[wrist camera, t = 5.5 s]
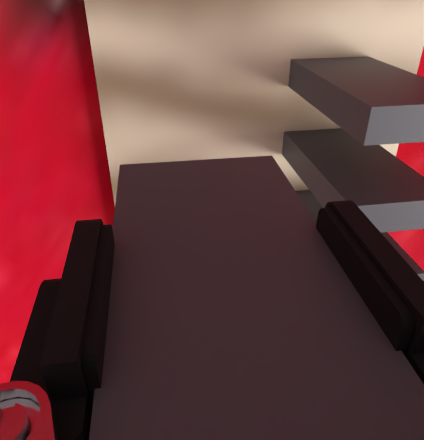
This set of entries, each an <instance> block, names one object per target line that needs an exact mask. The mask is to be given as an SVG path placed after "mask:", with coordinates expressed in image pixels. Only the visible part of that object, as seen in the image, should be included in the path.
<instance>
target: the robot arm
mask: <svg viewBox="0 0 424 440" xmlns="http://www.w3.org/2000/svg"><path fill="white" fill-rule="evenodd" d="M316 229H317V230H318V232H319V233H320V235H321V236H322V238H323V240H324V241H325V243H326V244H327V246H328V247H329V249H330V250H331V252H332V253H333V255H334V257H335V258H336V260H337V261H338V263H339V264H340V266H341V267H342V269H343V270H344V272H345V273H346V275H347V277H348V278H349V280H350V281H351V283H352V284H353V286H354V287H355V289H356V290H357V292H358V294H359V295H360V297H361V298H362V300H363V301H364V303H365V304H366V306H367V307H368V309H369V311H370V312H371V314H372V315H373V317H374V318H375V320H376V321H377V323H378V324H379V326H380V327H381V329H382V331H383V332H384V334H385V335H386V337H387V338H388V340H389V341H390V343H391V344H392V346H393V348H394V349H395V351H402V352H403V354H404V355H405V357H406V358H407V360H408V361H409V363H410V364H411V366H412V367H413V369H414V370H415V372H416V373H417V375H418V376H419V378H420V379H421V381H422V382H423V384H424V281H423V280H422V279H421V278H420V277H419V276H418V274H417V273H416V272H415V271H414V270H413V269H412V268H411V267H410V265H409V264H408V263H407V262H406V261H405V260H404V259H403V257H402V256H401V255H400V254H399V253H398V252H397V251H396V249H395V248H394V247H393V246H392V245H391V244H390V243H389V241H388V240H387V239H386V238H385V237H384V236H383V235H382V234H381V232H380V231H379V230H378V229H377V228H376V227H375V226H374V224H373V223H372V222H371V221H370V220H369V219H368V218H367V216H366V215H365V214H364V213H363V212H362V211H361V210H360V208H359V207H358V206H357V205H356V204H355V203H354V202H353V201H352V200H345V201H332V202H328V203H327V204H326V205H325V208H321V209H320V210H319V212H318V217H317V223H316ZM114 248H115V242H114V236H113V230H112V226H111V224H110V225H103V222H102V220H101V219H95V220H82V221H76V224H75V227H74V231H73V235H72V239H71V243H70V247H69V251H68V255H67V259H66V262H65V266H64V270H63V274H62V278H61V279H51V280H44V281H43V282H42V283H41V285H40V288H39V291H38V294H37V297H36V300H35V303H34V307H33V310H32V313H31V316H30V319H29V322H28V326H27V329H26V332H25V335H24V338H23V341H22V345H21V348H20V351H19V354H18V357H17V360H16V364H15V367H14V370H13V373H12V376H11V379H10V382H7V383H2V384H0V440H89V435H90V426H91V417H92V408H93V399H94V390H95V389H98V388H101V384H102V373H103V363H104V352H105V342H106V332H107V321H108V311H109V300H110V290H111V280H112V269H113V259H114Z"/></svg>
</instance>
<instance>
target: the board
mask: <svg viewBox="0 0 424 440" xmlns="http://www.w3.org/2000/svg"><path fill="white" fill-rule="evenodd" d="M84 3H85V10H86V17H87V23H88V30H89V37H90V43H91V50H92V57H93V63H94V70H95V77H96V83H97V90H98V97H99V103H100V110H101V117H102V124H103V130H104V137H105V144H106V150H107V157H108V164H109V170H110V177H111V184H112V190H113V197H114V204H115V203H116V194H117V185H118V176H119V167H120V165H122V164H138V163H155V162H172V161H188V160H205V159H222V158H238V157H255V156H273V158H274V159H275V161H276V162H277V164H278V165H279V167H280V168H281V170H282V171H283V173H284V174H285V176H286V177H287V179H288V180H289V182H290V183H291V185H292V186H293V188H294V189H295V191H300V190H309V189H308V187H307V186H306V185H305V184H304V182H303V181H302V180H301V178H300V177H299V176H298V175H297V173H296V172H295V171H294V169H293V168H292V167H291V166H290V164H289V163H288V162H287V160H286V159H285V158H284V157H283V155H282V146H283V136H284V132H286V131H303V130H320V129H338V128H341V127H339V126H338V125H337V124H335V123H334V122H333V121H332V120H330V119H329V118H328V117H326V116H325V115H324V114H323V113H321V112H320V111H319V110H318V109H316V108H315V107H314V106H312V105H311V104H310V103H309V102H307V101H306V100H305V99H303V98H302V97H301V96H300V95H298V94H297V93H296V92H295V91H293V90H292V89H291V88H289V87H288V83H289V72H290V61H291V59H311V58H341V57H371V58H374V59H377V60H379V61H382V62H385V63H387V64H390V65H393V66H395V67H398V68H400V69H403V70H406V71H408V72H411V73H414V74H417V70H418V66H419V62H420V58H421V54H422V50H423V46H424V0H84ZM398 145H399V143H397V144H382V145H380V146H382V147H383V148H384V149H386V150H387V151H388V152H390V153H391V154H393V155H394V156H395V157H396V153H397V149H398Z"/></svg>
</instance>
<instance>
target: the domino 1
mask: <svg viewBox="0 0 424 440" xmlns="http://www.w3.org/2000/svg"><path fill="white" fill-rule="evenodd" d="M113 236H114V242H115V248H114V259H113V269H112V280H111V290H110V300H109V311H108V321H107V332H106V342H105V352H104V363H103V373H102V384H101V388H98V389H95V390H94V399H93V408H92V417H91V426H90V435H89V440H424V384H423V382H422V381H421V379H420V378H419V376H418V375H417V373H416V372H415V370H414V369H413V367H412V366H411V364H410V363H409V361H408V360H407V358H406V357H405V355H404V354H403V352H402V351H395V349H394V348H393V346H392V344H391V343H390V341H389V340H388V338H387V337H386V335H385V334H384V332H383V331H382V329H381V327H380V326H379V324H378V323H377V321H376V320H375V318H374V317H373V315H372V314H371V312H370V311H369V309H368V307H367V306H366V304H365V303H364V301H363V300H362V298H361V297H360V295H359V294H358V292H357V290H356V289H355V287H354V286H353V284H352V283H351V281H350V280H349V278H348V277H347V275H346V273H345V272H344V270H343V269H342V267H341V266H340V264H339V263H338V261H337V260H336V258H335V257H334V255H333V253H332V252H331V250H330V249H329V247H328V246H327V244H326V243H325V241H324V240H323V238H322V236H321V235H320V233H319V232H318V230H317V229H316V221H315V220H314V218H313V217H312V215H311V214H310V212H309V211H308V209H307V208H306V206H305V204H304V203H303V201H302V200H301V198H300V197H299V195H298V194H297V192H296V191H295V189H294V188H293V186H292V185H291V183H290V182H289V180H288V179H287V177H286V176H285V174H284V173H283V171H282V170H281V168H280V167H279V165H278V164H277V162H276V161H275V159H274V158H273V156H255V157H238V158H222V159H205V160H188V161H172V162H155V163H138V164H122V165H120V167H119V176H118V185H117V194H116V203H115V212H114V221H113Z"/></svg>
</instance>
